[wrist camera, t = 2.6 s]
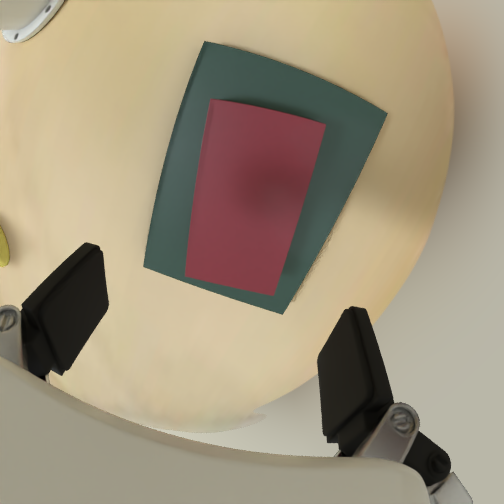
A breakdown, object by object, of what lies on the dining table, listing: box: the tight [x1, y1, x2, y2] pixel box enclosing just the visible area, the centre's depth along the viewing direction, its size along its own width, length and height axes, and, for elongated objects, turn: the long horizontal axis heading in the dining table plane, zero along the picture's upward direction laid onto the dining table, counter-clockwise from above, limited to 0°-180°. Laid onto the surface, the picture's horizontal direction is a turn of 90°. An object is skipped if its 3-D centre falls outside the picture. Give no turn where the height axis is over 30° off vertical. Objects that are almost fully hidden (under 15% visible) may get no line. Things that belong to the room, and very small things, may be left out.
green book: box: [143, 41, 388, 315], centre depth 21 cm, size 20×14×2 cm
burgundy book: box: [185, 99, 326, 296], centre depth 19 cm, size 13×7×3 cm, turn 168°
